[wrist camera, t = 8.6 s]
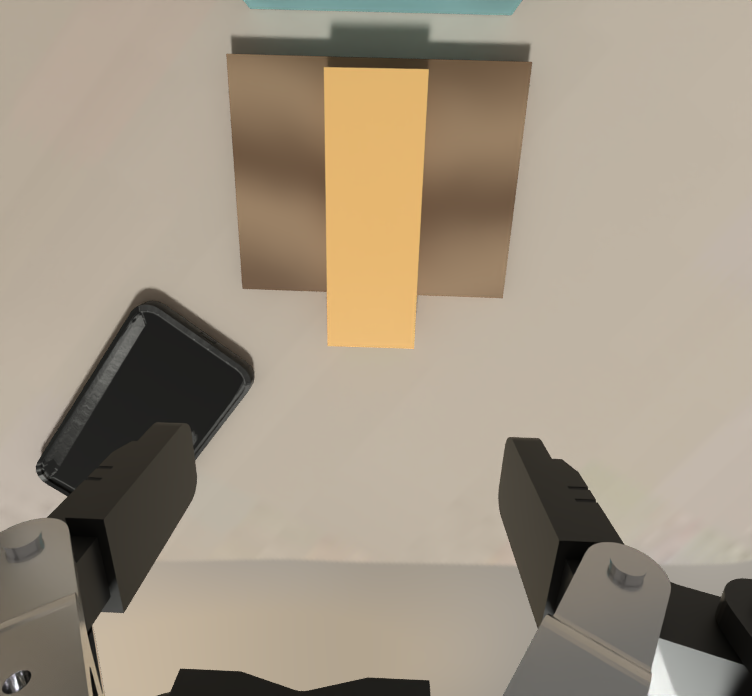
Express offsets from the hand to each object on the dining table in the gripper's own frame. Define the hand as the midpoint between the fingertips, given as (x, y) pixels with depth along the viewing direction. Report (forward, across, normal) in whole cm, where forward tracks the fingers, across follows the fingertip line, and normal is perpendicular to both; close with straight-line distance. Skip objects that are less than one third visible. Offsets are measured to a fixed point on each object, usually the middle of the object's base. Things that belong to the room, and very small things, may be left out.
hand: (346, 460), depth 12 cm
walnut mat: (+15, 0, -6) cm, 17 cm away
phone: (+16, +14, +8) cm, 23 cm away
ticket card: (+14, 0, -5) cm, 15 cm away
